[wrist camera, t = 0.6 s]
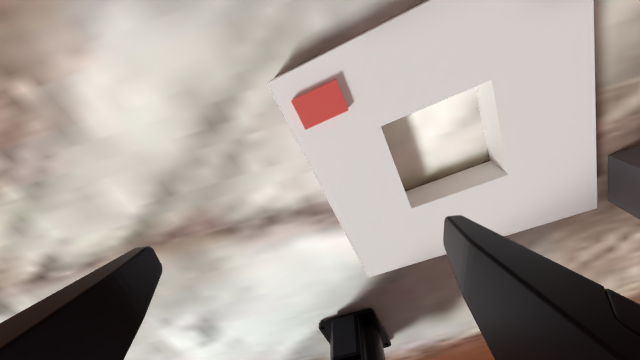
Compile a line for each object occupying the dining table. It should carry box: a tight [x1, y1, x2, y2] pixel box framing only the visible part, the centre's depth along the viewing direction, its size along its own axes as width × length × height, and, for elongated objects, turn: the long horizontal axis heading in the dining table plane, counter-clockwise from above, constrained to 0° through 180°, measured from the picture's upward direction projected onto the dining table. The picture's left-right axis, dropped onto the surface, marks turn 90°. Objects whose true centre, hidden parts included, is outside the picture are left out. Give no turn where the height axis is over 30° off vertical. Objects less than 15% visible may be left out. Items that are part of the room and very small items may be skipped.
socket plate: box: [267, 0, 597, 278], centre depth 20 cm, size 18×18×3 cm
